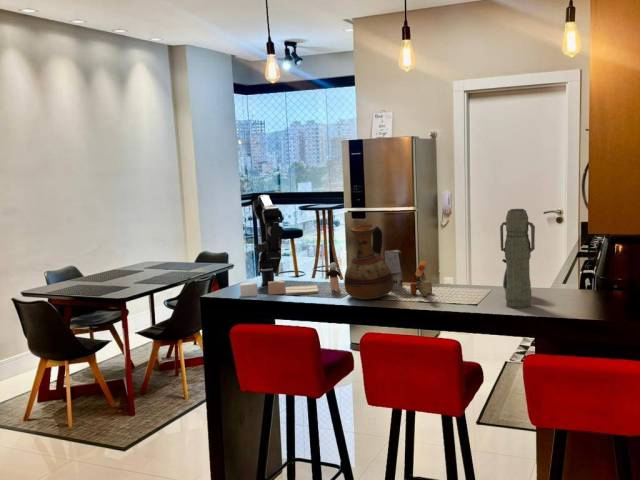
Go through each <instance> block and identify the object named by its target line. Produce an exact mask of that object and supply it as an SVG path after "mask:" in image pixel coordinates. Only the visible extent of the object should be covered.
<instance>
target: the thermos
mask: <svg viewBox="0 0 640 480" xmlns="http://www.w3.org/2000/svg"><path fill="white" fill-rule="evenodd" d="M504 226H505V231H506V235H505V236H506V237H505V241H504ZM529 227H530V235H531V236H530V235H529ZM499 231H500V238H499V239H500V251H502V252H503V253H504V258H505V260H506V263H505V264H506V267H505V269H506V268H507V287H506V290H504V292H505V301H506V303H505V305H506V307H507V308H510V309H528V308H531V307H532V286H531V287H530V282H531V277H530V275H531V274H530V259H531V257H532V256H531V253H532V252H533V251H535V249H536V248H535V244H536V243H535V241H536V240H535V237H536V236H535V235H536V226H535V225H534V223H533V222H530V221H529V216H528V213H527V210H526V209H524V208H512V209H509V210H508V211H507V213H506V217H505V222H502V223H501V225H500V229H499ZM529 236H530V238H529Z"/></svg>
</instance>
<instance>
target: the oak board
mask: <svg viewBox="0 0 640 480" xmlns="http://www.w3.org/2000/svg"><path fill="white" fill-rule="evenodd" d="M313 293H315V294H319V287H318V285H317V284H311V285H309V284H308V285H292V286H285V296H298V295H299V296H302V295H312V294H313ZM313 295H314V294H313Z"/></svg>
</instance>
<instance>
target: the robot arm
mask: <svg viewBox="0 0 640 480" xmlns="http://www.w3.org/2000/svg"><path fill="white" fill-rule="evenodd" d="M252 211H253V212H254V216H255V218H256V219H257V220H258V226H259V235H260V236H259V237H260V243H257V244H256V245H255V246H254V247H253V249H254V252H255V254H256V255H259V257H258V261H257V272H258V273H259V274H261V285H260V286H262V287H263V286H267V287H268V282H270V281H275V274H277V272H278V271H279V266H280V264H281V260H282V247H281V240H280V239H281V237H282V236H283V235H284V229H283V227H282V226H281V225H280V223H281V224H282V223H284V216H283V212H282V211H281V209H280V208H279V206H277V205H275V204H274V205H273V202H272V199H271V198H270V195H268V194H261V195H260V194H259V195H258V196H257V198H256V199H255V200H254V199H253V202H252Z"/></svg>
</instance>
